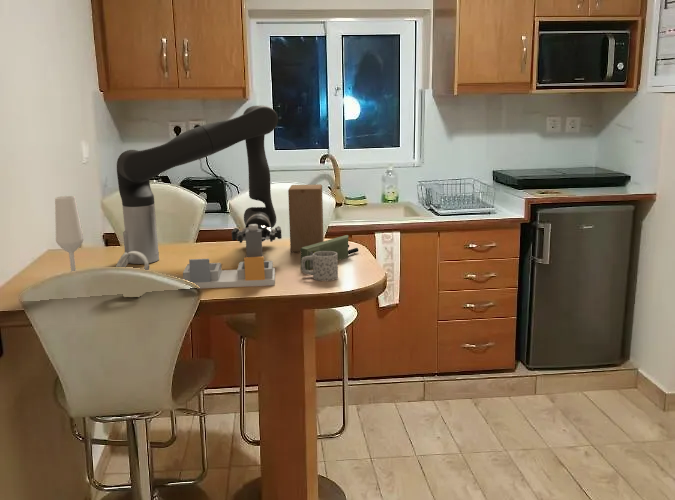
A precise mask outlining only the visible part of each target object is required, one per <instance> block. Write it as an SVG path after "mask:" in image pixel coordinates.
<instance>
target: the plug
mask: <svg viewBox="0 0 675 500" xmlns="http://www.w3.org/2000/svg"><path fill="white" fill-rule="evenodd" d="M245 234H246V240H245V246H246V247H245V250H246V257H264V256H263V242H262V233H261V229H258V225H257V224H250V225H249V229H246V232H245Z"/></svg>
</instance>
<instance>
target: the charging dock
mask: <svg viewBox="0 0 675 500" xmlns="http://www.w3.org/2000/svg"><path fill="white" fill-rule="evenodd" d="M243 259H244V261H240V262H239V263H238V267H237V269H224V270H223V269H222V263H221V262H210V258H192V259H189V260H188V262H189V263H186V266H185V268H184V270H183V271H182V280H183V279H185V280H188V281H190V282H193V283H195V284H196V285H198V286H199V287H200V288H199V289H213V288H215V289H217V288H242V287H244V288H245V287H264V286H275V285H276V283H275V282H276V268H275V267H274V264H273V263H274V262H273V261H274V260H265V256H263V257H247V256H245V257H243Z"/></svg>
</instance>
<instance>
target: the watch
mask: <svg viewBox="0 0 675 500" xmlns="http://www.w3.org/2000/svg"><path fill="white" fill-rule="evenodd" d="M131 254H134V255H137V256H139V257H140V258H141V259H142V260H143V261H144V263H145V264H143V265H144V266H143V269H145V270H149V271H150V263H149V261H148V259H147V258H146V256H145V255H144V254H143V253H141V252H138V251H130V252H129V253H127V252H125V251H124V253H123V254H122V255H121V256H120V258H119V259H118V261H117V263H116V265H115V268H116V267H125V268H126V267H127V266H128V264H130V263H129V261H130V257H131V256H130V255H131Z"/></svg>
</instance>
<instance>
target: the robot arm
mask: <svg viewBox="0 0 675 500" xmlns="http://www.w3.org/2000/svg"><path fill="white" fill-rule="evenodd" d="M278 120H279V117H278V114H277V112H276V111H275V109H273V108H272V107H270V106H268V105H263V104H261V105H260V104H259V105H252V106H251V105H250V106H249V107H247V108H246V109H245V110H244V111H243V114H242V115H239V116H237V117H234V118H231V119H226V120H225V119H224V120H219V121H215V122H211V123H206V124H202V125H199V126H196V127H193V128H191V129H189V130H187V131H184V132H181V133H180V134H179V135H177V136H175V137H174V138H172V139H170V140H169V141H168V142H166V143H163V144H161V145H157V146H154V147H152V148H146V149H142V150H138V149H137V150H136V149H127V150H125V151H123V152H122V153H120V155H119V156H118V158H117V161H116V175H117V184H118V191H119V195H120V199H121V204H122V215H123V227H124V231H123V232H122V234H123V235H122V236H123V247H124V253H125V252H127V253H129V252H130V251H138V252H141V253H143V254H144V255H145V256H146V258H147V259H148V261H149V264H151V263H154V262H157V261H159V260H160V252H159V242H158V230H157V218H156V206H155V195H154V193H153V191H152V187H151V184H150V183H151V182H150V179H153V178H154V177H156V176H158V175H160V174H162V173H164V172H166V171H168V170H170V169H173V168H176V167H178V166H182V165H186V164H189V163H193V162H195V161H199V160H200V159H204V158H208V157H209V156H212V155H214V154H216V153H219V152H220V151H223V150H225V149H227V148H229V147H232V146H234V145H236V144H238V143H240V142H243V141H245V148H246V155H247V165H248V166H247V167H248V197H249V198H250V199H251V200H254V201H260V202H261V203H263V204H264V206H258V207H257V206H254V207H253V206H251V207H247V208H246V209H245V210H244V213H243V222H244V224H245V225H244V226H245V227H244V228H242V230H240V229H239V228H238V227H234V228H233V229H232V230H231V240H232V241H236V240H237V242H239V244H242V243H243V241H246V234H245V232H246V229H249V225H250V224H257V225H258V229H261V233H262V243H263V242H265V241H268V240H269V241H270V242H271V243H272V242H273V241H276V238H277V239H279V240H281V239H283V237H282V228H281V226H279V225H278V226H276V224H277V214H276V211H275V208H274V205H273V200H272V195H271V193H272V192H271V171H270V166H269V162H268V159H267V155H266V149H265V135H269V134H270V133H272V132H273V131H274V130H275V129H276V127H277V125H278V122H279V121H278ZM275 226H276V227H275ZM273 228H274V229H273ZM130 256H131V257H130V261H129V263H128V264H133V265H134V264H135V265H140V264H141V265H145V263H144V261H143V260H142V259H141V258H140V257H139V256H137V255H134V254H131V255H130Z"/></svg>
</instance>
